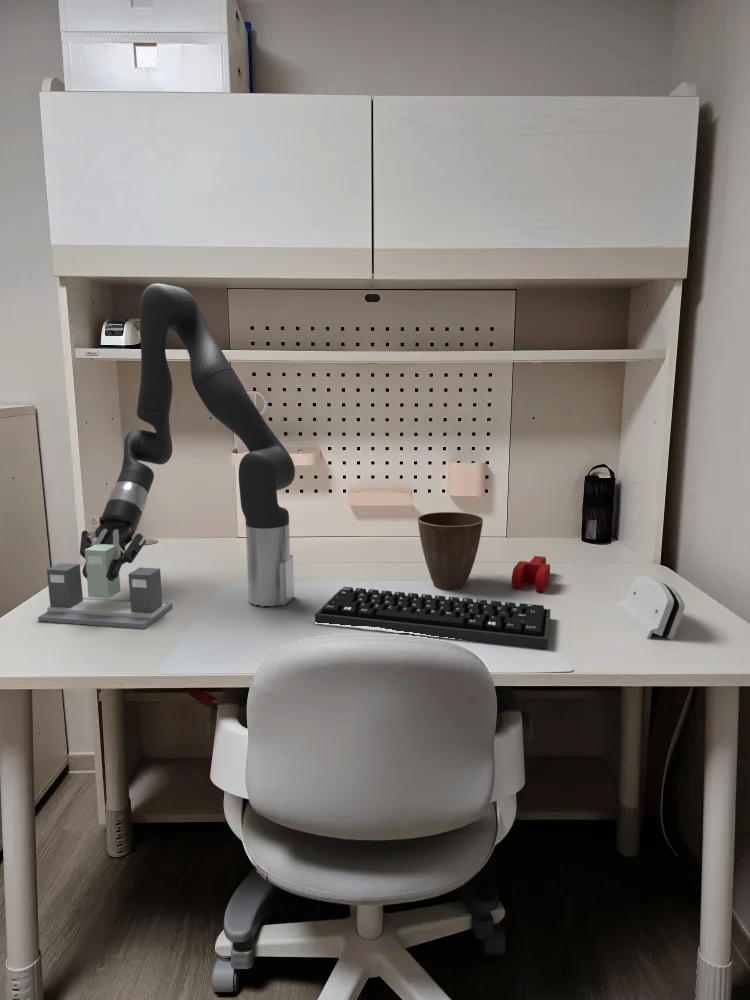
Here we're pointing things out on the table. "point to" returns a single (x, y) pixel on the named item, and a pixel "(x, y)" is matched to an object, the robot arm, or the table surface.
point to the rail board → (104, 600)
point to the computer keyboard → (440, 616)
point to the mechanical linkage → (532, 574)
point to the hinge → (652, 607)
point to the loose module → (100, 571)
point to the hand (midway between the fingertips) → (98, 577)
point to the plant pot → (450, 546)
